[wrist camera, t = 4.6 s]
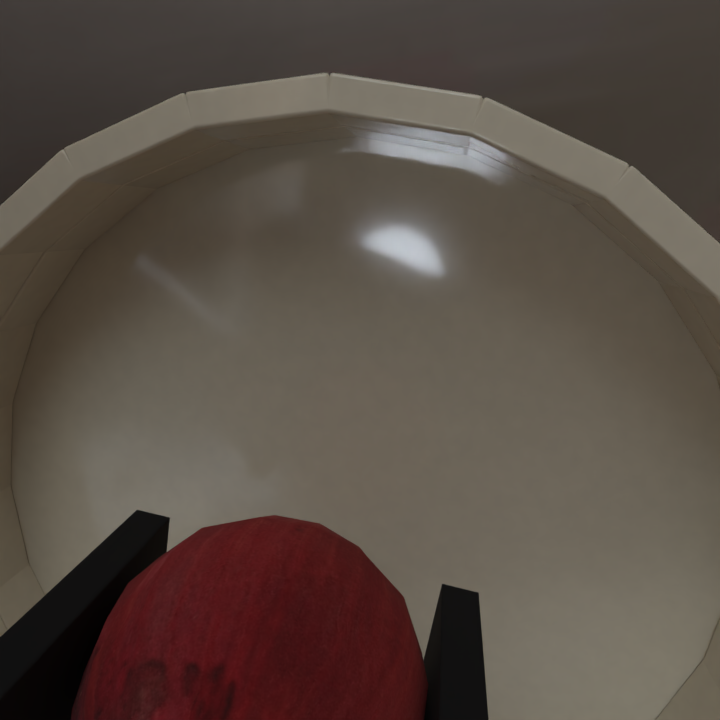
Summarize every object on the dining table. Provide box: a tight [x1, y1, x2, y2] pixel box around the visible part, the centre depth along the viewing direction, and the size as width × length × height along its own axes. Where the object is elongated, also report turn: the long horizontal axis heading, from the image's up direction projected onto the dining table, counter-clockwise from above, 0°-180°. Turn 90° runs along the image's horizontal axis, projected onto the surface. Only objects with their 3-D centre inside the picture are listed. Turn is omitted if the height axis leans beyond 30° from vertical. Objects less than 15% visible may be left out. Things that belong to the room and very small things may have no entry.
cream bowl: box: [0, 73, 720, 720], centre depth 15 cm, size 21×21×4 cm
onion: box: [71, 515, 428, 720], centre depth 10 cm, size 6×6×8 cm
